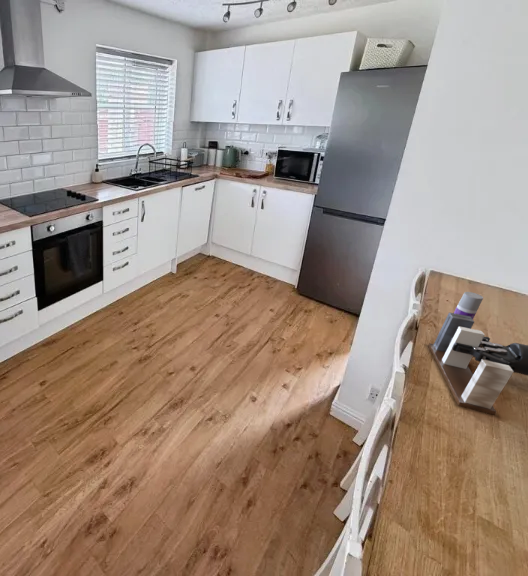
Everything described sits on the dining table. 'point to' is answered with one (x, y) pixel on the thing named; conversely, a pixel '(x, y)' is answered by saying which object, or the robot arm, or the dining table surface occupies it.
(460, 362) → the white book
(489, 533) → the dining table surface
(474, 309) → the container
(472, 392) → the book rack
